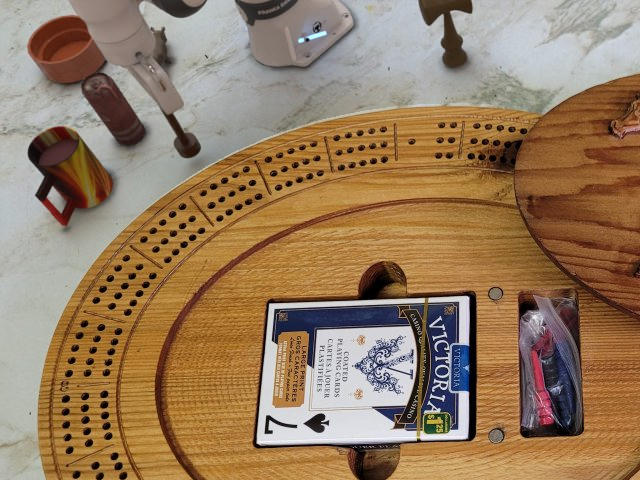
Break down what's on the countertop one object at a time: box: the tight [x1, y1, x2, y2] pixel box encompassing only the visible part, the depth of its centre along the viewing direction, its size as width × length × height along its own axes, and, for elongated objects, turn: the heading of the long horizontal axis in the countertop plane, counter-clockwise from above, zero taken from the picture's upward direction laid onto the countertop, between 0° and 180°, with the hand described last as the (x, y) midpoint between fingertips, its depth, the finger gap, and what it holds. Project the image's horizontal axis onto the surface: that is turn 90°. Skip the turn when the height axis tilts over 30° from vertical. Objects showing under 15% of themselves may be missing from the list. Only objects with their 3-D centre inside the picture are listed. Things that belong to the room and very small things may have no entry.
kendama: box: [417, 0, 474, 68], centre depth 159 cm, size 6×10×20 cm, turn 110°
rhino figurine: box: [149, 26, 173, 69], centre depth 172 cm, size 4×14×6 cm, turn 1°
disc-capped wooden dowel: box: [157, 104, 202, 159], centre depth 152 cm, size 4×4×16 cm
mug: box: [27, 125, 114, 227], centre depth 154 cm, size 10×14×12 cm
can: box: [80, 71, 146, 147], centre depth 160 cm, size 6×6×14 cm
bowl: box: [26, 14, 106, 84], centre depth 174 cm, size 14×14×6 cm
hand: (163, 102), depth 148 cm, fingers closed on disc-capped wooden dowel, 2 cm apart
